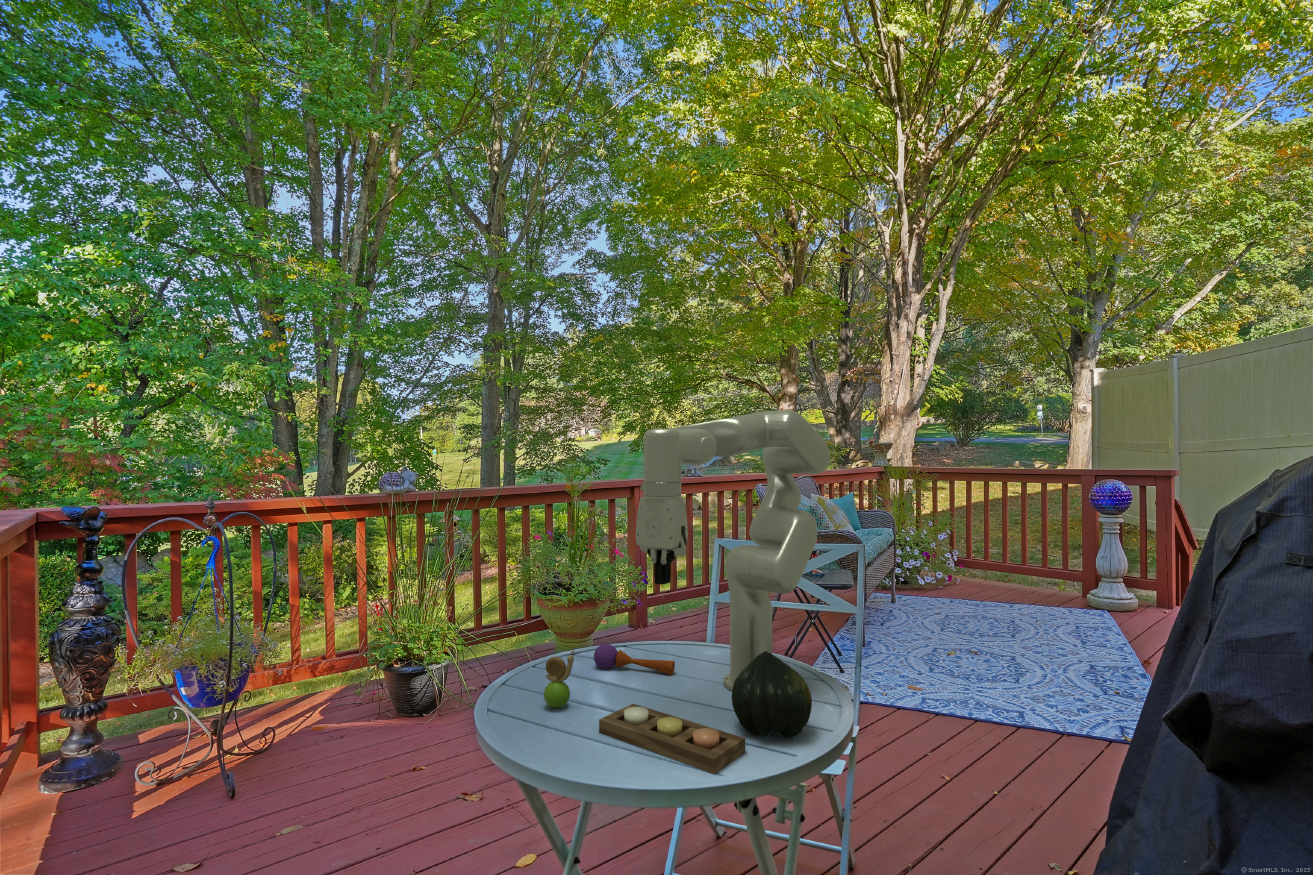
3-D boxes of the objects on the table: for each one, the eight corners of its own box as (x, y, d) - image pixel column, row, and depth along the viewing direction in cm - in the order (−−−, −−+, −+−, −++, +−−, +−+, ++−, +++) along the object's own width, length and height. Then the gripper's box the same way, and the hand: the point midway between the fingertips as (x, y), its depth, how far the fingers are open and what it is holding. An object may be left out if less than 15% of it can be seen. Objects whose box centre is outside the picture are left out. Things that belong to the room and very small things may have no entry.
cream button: (634, 714, 129) (634, 704, 129) (653, 719, 126) (653, 710, 126) (619, 721, 126) (619, 712, 126) (637, 727, 123) (637, 718, 123)
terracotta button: (702, 735, 119) (702, 725, 119) (724, 742, 117) (724, 732, 117) (687, 744, 116) (687, 734, 116) (709, 752, 113) (709, 741, 113)
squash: (795, 728, 114) (806, 647, 124) (714, 715, 121) (731, 640, 130) (812, 758, 123) (821, 680, 133) (736, 745, 130) (750, 672, 139)
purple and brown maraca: (669, 662, 154) (590, 648, 160) (669, 686, 156) (590, 671, 161) (676, 650, 160) (599, 637, 166) (675, 673, 161) (599, 659, 167)
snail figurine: (569, 713, 134) (569, 654, 134) (539, 711, 135) (539, 652, 136) (578, 703, 139) (578, 646, 140) (549, 701, 141) (549, 644, 141)
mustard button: (667, 724, 124) (667, 714, 124) (687, 730, 121) (687, 721, 121) (652, 732, 121) (652, 722, 121) (672, 739, 118) (672, 729, 118)
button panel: (632, 715, 133) (632, 703, 133) (745, 752, 117) (745, 737, 117) (599, 732, 125) (599, 719, 125) (714, 773, 109) (714, 758, 109)
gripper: (621, 490, 133) (621, 581, 133) (681, 493, 124) (682, 591, 124) (645, 488, 139) (645, 575, 139) (704, 491, 130) (704, 584, 130)
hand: (662, 582), depth 131 cm, fingers closed
